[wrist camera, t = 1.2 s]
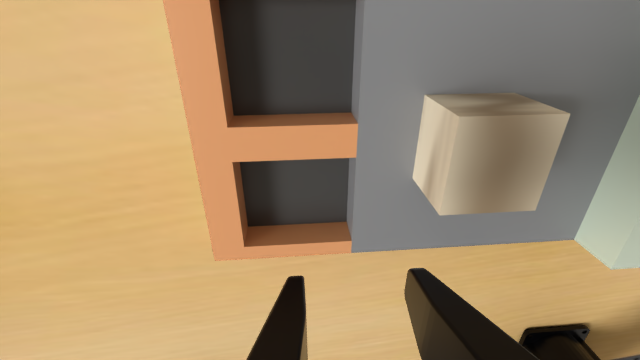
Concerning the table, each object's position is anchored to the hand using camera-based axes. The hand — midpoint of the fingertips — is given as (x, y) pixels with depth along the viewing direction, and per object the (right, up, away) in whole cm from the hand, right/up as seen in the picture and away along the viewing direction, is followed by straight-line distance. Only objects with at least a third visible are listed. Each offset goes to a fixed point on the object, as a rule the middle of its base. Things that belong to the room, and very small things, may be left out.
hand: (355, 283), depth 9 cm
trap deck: (+6, +6, +12) cm, 15 cm away
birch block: (+7, +5, +10) cm, 13 cm away
